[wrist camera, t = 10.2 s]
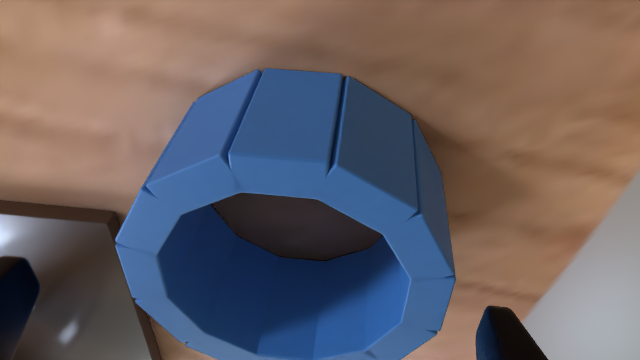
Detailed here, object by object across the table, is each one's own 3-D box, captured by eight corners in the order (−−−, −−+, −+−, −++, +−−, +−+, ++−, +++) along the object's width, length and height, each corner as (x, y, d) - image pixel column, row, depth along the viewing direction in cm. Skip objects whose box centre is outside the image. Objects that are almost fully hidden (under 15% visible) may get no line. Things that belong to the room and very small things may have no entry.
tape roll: (416, 289, 22) (421, 392, 18) (191, 266, 23) (152, 361, 19) (464, 81, 16) (488, 175, 12) (149, 58, 16) (78, 140, 13)
